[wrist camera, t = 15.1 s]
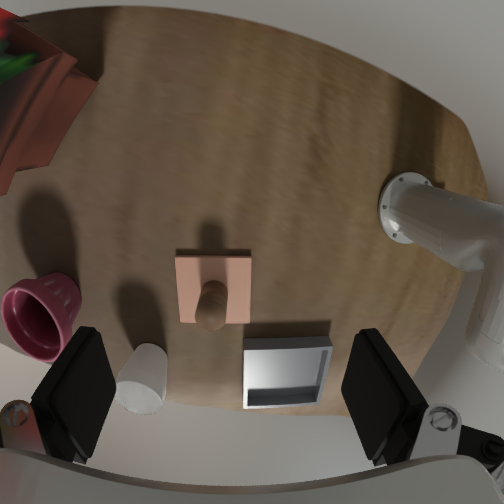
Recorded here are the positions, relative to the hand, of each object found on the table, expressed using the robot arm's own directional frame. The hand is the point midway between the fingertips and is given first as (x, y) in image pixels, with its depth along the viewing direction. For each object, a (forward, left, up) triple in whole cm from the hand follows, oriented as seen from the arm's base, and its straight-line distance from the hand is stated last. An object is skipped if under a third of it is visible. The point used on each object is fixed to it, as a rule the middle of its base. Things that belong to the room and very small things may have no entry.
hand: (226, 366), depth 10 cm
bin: (-10, +33, -36) cm, 50 cm away
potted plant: (+32, -18, -36) cm, 52 cm away
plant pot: (+33, +17, -36) cm, 52 cm away
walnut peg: (+3, +15, -35) cm, 38 cm away
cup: (+16, +30, -36) cm, 50 cm away
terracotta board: (+3, +15, -36) cm, 39 cm away
